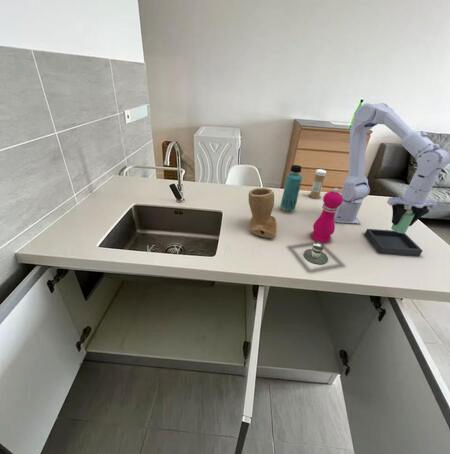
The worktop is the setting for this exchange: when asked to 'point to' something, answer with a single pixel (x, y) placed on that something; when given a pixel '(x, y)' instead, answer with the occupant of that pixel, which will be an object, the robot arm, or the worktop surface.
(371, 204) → the worktop surface
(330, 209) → the pepper mill
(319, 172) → the sprinkles bottle
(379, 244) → the dark gray rectangular tray
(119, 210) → the worktop surface
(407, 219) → the mint green cylinder
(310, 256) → the pot lid
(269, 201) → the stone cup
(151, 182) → the worktop surface
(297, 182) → the beverage bottle
